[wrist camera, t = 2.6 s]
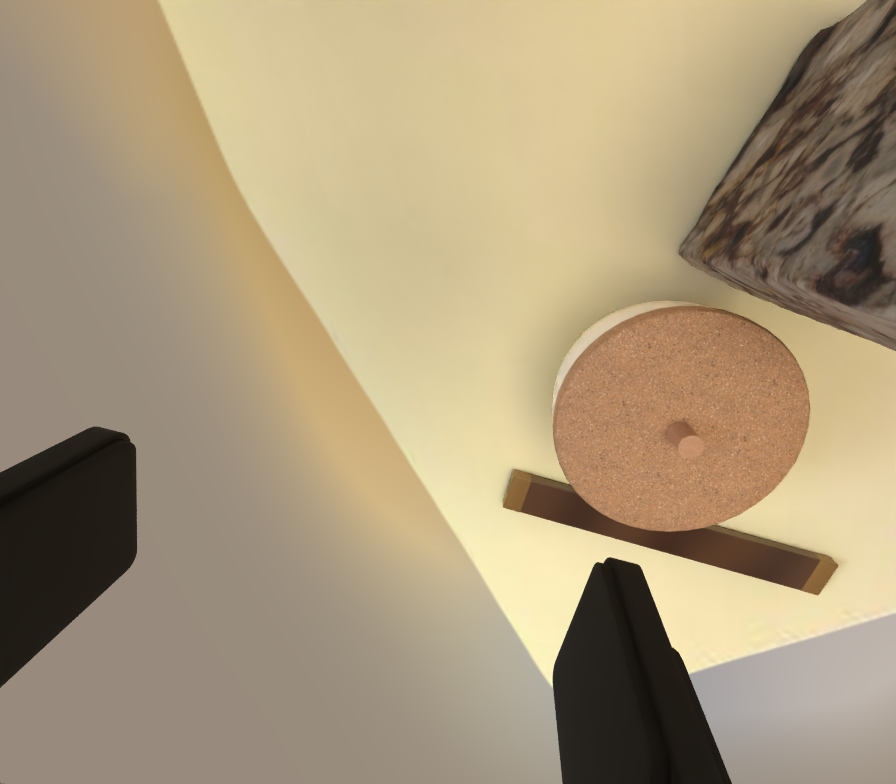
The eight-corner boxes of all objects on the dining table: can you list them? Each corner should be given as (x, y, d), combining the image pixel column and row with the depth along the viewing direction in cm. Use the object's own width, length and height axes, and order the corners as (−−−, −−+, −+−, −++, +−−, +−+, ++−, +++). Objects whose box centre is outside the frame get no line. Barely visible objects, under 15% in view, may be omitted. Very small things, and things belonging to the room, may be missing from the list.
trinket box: (686, 477, 31) (759, 583, 22) (520, 432, 31) (525, 519, 22) (767, 312, 27) (894, 359, 18) (576, 262, 27) (610, 284, 18)
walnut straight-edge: (502, 500, 33) (502, 507, 32) (513, 468, 32) (513, 475, 31) (811, 587, 32) (818, 596, 31) (831, 556, 31) (839, 565, 31)
